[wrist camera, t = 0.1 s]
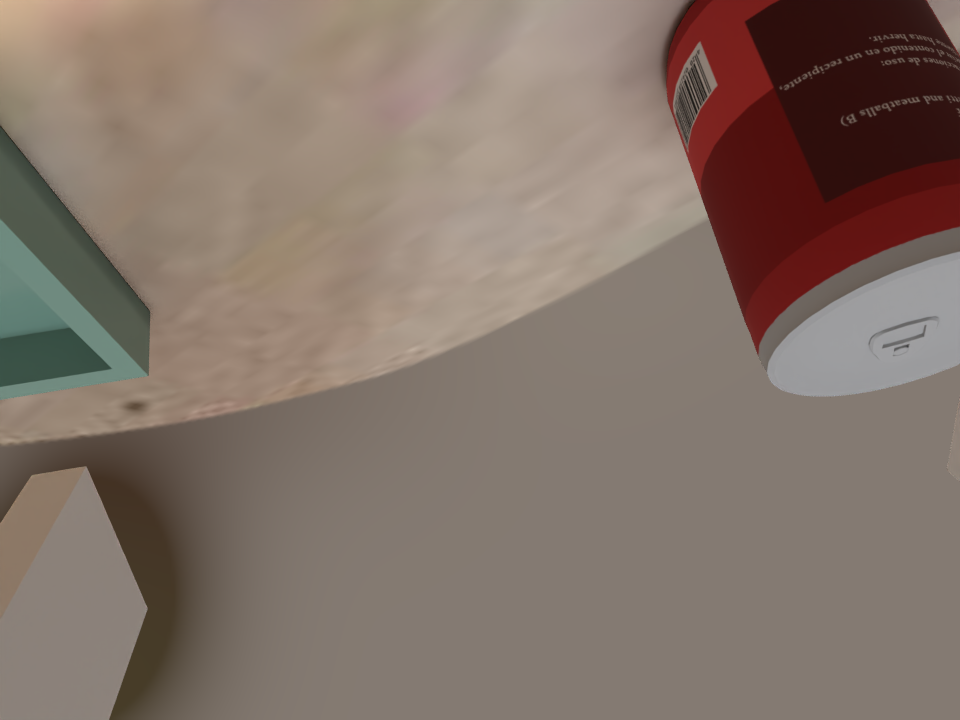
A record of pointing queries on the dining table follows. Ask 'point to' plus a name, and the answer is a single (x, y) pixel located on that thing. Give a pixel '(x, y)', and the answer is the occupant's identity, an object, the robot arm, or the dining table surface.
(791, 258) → the canned food
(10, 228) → the tray
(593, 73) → the dining table surface
